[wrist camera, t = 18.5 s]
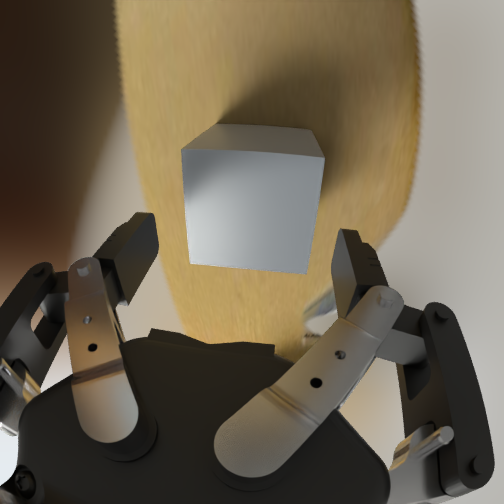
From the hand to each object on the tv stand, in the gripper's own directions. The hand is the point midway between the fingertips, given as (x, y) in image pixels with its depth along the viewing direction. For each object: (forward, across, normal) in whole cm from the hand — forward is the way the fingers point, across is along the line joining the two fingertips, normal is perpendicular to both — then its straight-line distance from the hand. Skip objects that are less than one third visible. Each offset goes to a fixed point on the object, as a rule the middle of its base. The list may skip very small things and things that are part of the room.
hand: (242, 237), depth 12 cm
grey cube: (+10, 0, 0) cm, 10 cm away
